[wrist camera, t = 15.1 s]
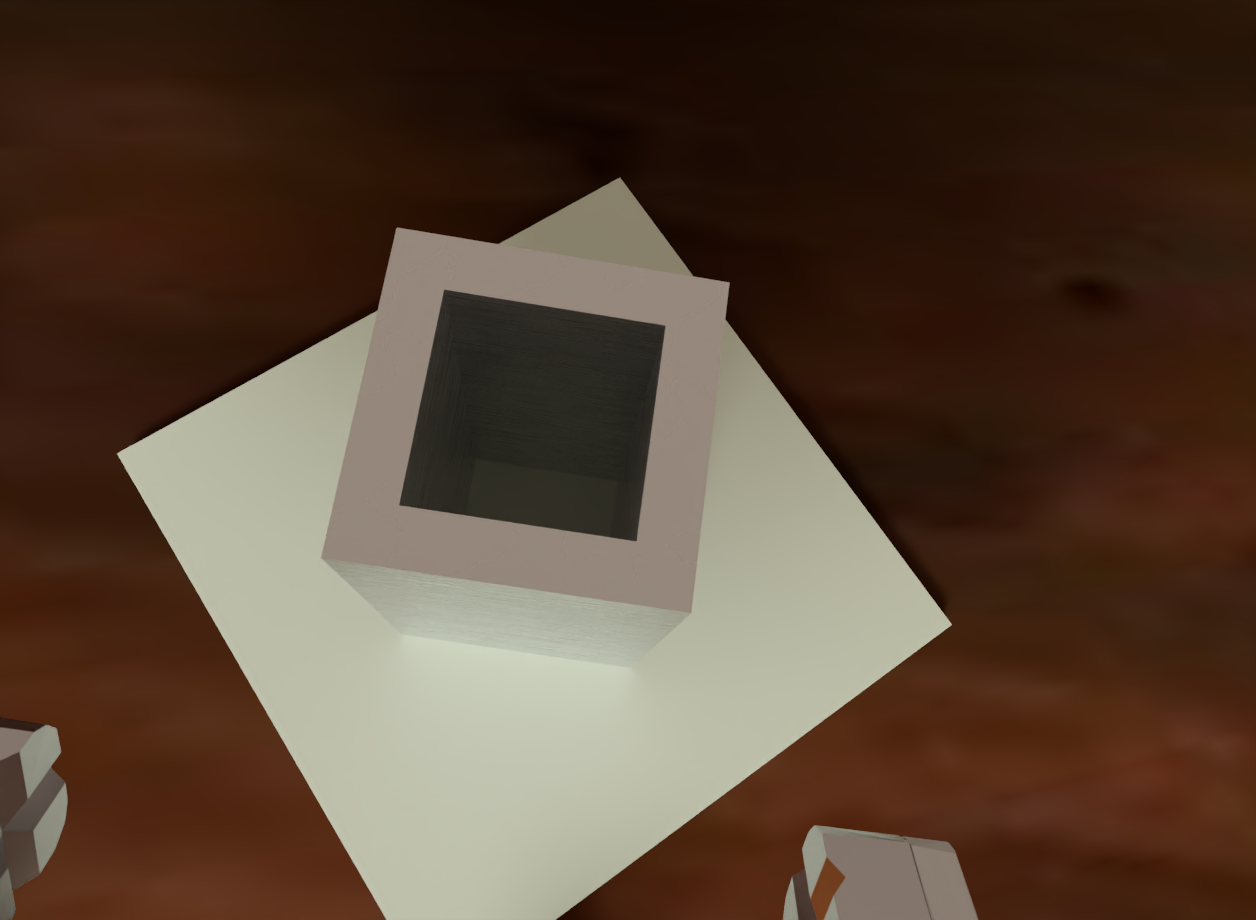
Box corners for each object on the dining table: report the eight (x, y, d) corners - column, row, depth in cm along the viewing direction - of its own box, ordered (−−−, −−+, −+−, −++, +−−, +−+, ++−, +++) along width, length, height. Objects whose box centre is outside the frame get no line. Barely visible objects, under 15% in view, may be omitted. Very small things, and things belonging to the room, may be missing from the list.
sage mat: (126, 461, 24) (117, 453, 23) (618, 190, 27) (619, 177, 26) (440, 1000, 21) (437, 1007, 20) (942, 627, 24) (952, 624, 24)
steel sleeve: (631, 668, 23) (691, 612, 14) (401, 634, 22) (321, 557, 14) (659, 451, 24) (729, 282, 16) (445, 417, 24) (396, 227, 15)
